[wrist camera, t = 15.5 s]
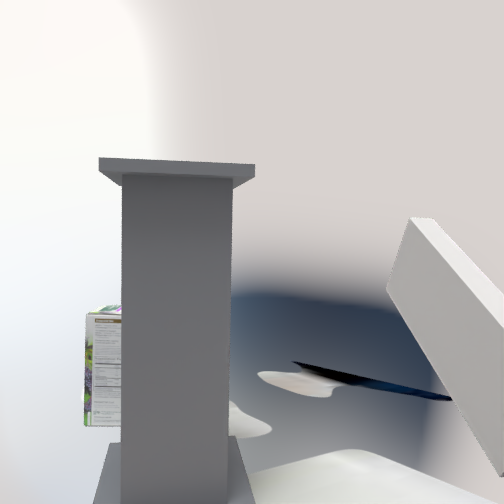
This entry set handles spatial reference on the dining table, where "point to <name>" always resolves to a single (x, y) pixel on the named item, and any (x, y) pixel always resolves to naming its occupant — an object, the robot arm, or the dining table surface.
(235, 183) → the gray pedestal stand
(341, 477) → the dining table surface
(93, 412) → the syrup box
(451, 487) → the dining table surface
